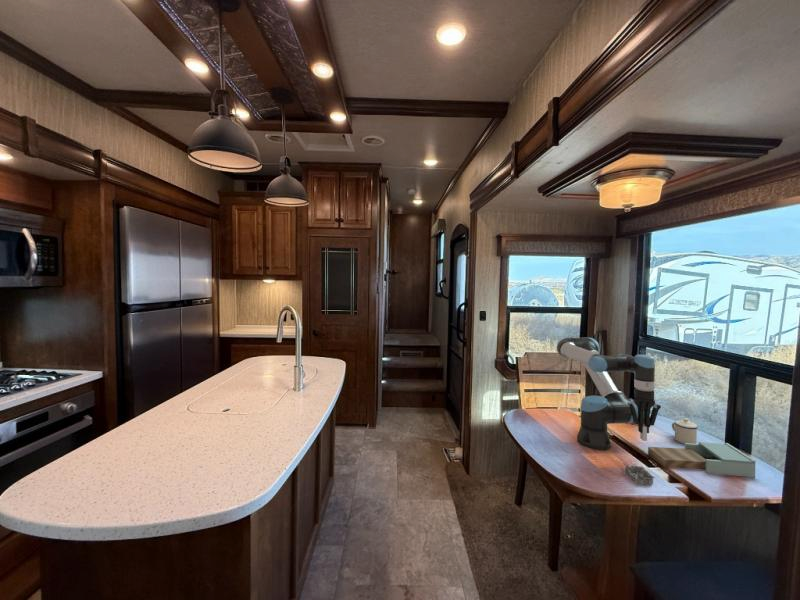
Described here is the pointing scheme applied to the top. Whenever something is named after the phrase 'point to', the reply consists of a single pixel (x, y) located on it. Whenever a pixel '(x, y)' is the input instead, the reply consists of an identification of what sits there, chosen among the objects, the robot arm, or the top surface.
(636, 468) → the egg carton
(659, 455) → the panel
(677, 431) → the teacup with lid
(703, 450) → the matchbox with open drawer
